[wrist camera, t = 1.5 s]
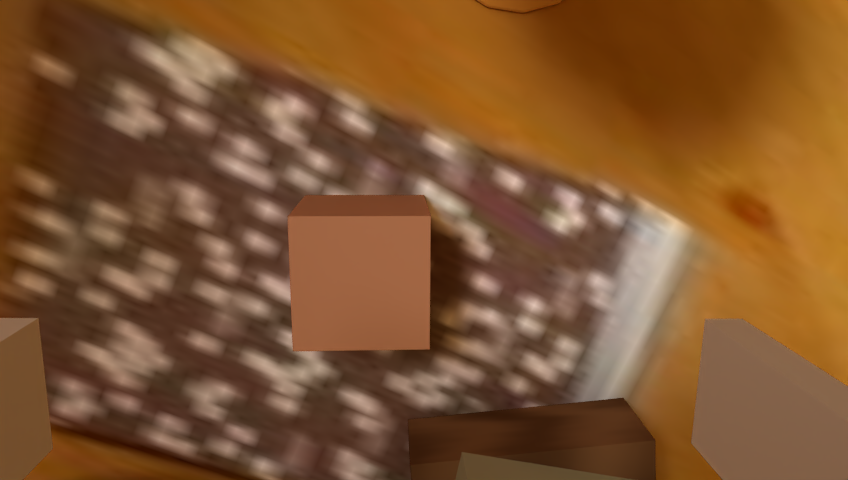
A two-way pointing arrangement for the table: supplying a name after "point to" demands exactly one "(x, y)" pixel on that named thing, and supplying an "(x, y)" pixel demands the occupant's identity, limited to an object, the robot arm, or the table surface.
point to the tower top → (517, 470)
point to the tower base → (537, 439)
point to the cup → (518, 4)
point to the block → (360, 272)
